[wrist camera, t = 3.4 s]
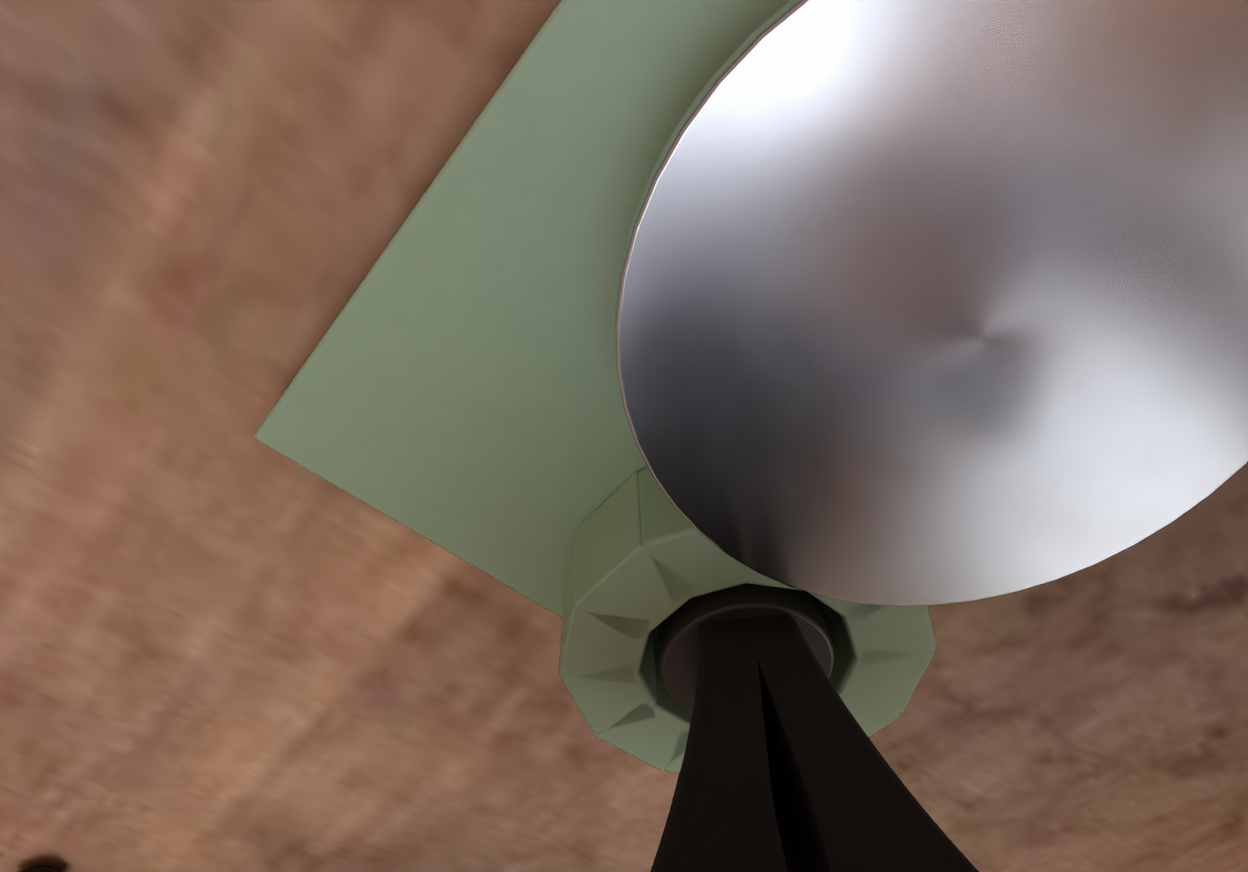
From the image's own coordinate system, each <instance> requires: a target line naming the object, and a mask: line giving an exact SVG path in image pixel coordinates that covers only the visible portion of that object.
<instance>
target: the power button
mask: <svg viewBox="0 0 1248 872" xmlns="http://www.w3.org/2000/svg"><path fill="white" fill-rule="evenodd" d="M787 615H789V616H790V617H791V618H793V619H794V620H795V621H796V622H797V624H798V626H799V628H800V630H801V632H802V634H803V636H804V638H805V640H806V642H807V643H808V645H809V647H810V649H811V650H812V652H813V654H814V656H815V657H816V659H817V661H818V662H819V664H820V666H821V667H822V669H823V671H824V672H825V674H826V675H827V677H828V679H829V678H830V675H831V673H832V670H833V665H834V648H833V644H832V640H831V637H830V634H829V631H828V628H827V624H826V621H825V618H824V615H823V612H822V609H821V605H820V602H819V599H817V598H816V597H815V596H813V595H812V594H810V593H809V592H806V591H803V590H796V589H788V588H781V587H773V586H765V585H757V584H749V583H744V584H740V585H737V586H733V587H729V588H726V589H722V590H718V591H715V592H711V593H707V594H704V595H700V596H696V597H693V598H690V599H689V600H688V601H686V602H685V603H684V604H683V605H682V606H681V607H679V608H678V609H677V610H676V611H675V612H673V613H672V614H671V615H670V616H669V617H667V618H666V619H665V620H664V621H663V622H661V623H660V624H659V625H658V626H657V631H658V646H659V661H660V673H661V679H662V682H663V684H664V687H665V688H666V690H667V692H668V693H669V695H670V696H671V697H672V699H673V700H674V701H675V702H676V703H677V704H678V705H679V706H681V707H682V708H683V709H685V710H686V711H688V712H689V713H691V714H692V712H693V706H694V700H695V692H696V684H697V675H698V662H699V653H698V632H697V627H699V626H700V625H701V624H702V623H703V622H705V621H716V620H730V619H745V618H746V619H747V618H759V617H772V616H787Z"/></svg>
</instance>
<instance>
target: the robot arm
mask: <svg viewBox="0 0 1248 872" xmlns="http://www.w3.org/2000/svg"><path fill="white" fill-rule="evenodd" d="M697 632H698V653H699V662H698V675H697V684H696V692H695V700H694V706H693V712H692V717H691V722H690V728H689V733H688V739H687V744H686V749H685V753H684V758H683V762H682V766H681V769H680V773H679V777H678V781H677V785H676V789H675V793H674V797H673V801H672V804H671V808H670V812H669V815H668V818H667V822H666V825H665V829H664V832H663V835H662V838H661V841H660V845H659V848H658V851H657V854H656V857H655V860H654V863H653V866H652V869H651V872H979V871H978V870H977V869H976V868H975V867H974V866H973V865H972V864H971V863H970V862H969V860H968V859H967V858H966V857H965V856H964V855H963V854H962V853H961V852H960V850H959V849H958V848H957V847H956V846H955V845H954V844H953V843H952V841H951V840H950V839H949V838H948V837H947V836H946V835H945V834H944V832H943V831H942V830H941V829H940V828H939V827H938V825H937V824H936V823H935V822H934V821H933V820H932V818H931V817H930V816H929V815H928V814H927V812H926V811H925V810H924V809H923V808H922V806H921V805H920V804H919V803H918V802H917V800H916V799H915V798H914V797H913V795H912V794H911V793H910V792H909V790H908V789H907V788H906V786H905V785H904V784H903V783H902V781H901V780H900V779H899V778H898V776H897V775H896V774H895V773H894V771H893V770H892V769H891V767H890V766H889V765H888V763H887V762H886V761H885V759H884V758H883V757H882V755H881V754H880V753H879V751H878V750H877V749H876V747H875V746H874V745H873V743H872V742H871V740H870V739H869V738H868V736H867V735H866V733H865V732H864V731H863V729H862V728H861V726H860V725H859V724H858V722H857V721H856V719H855V718H854V716H853V715H852V714H851V712H850V711H849V709H848V708H847V706H846V705H845V703H844V702H843V700H842V699H841V697H840V696H839V694H838V693H837V691H836V690H835V688H834V687H833V685H832V683H831V682H830V680H829V679H828V677H827V675H826V674H825V672H824V671H823V669H822V667H821V666H820V664H819V662H818V661H817V659H816V657H815V656H814V654H813V652H812V650H811V649H810V647H809V645H808V643H807V642H806V640H805V638H804V636H803V634H802V632H801V630H800V628H799V626H798V624H797V622H796V621H795V620H794V619H793V618H791V617H790V616H789V615H787V616H772V617H759V618H747V619H746V618H745V619H730V620H716V621H705V622H703V623H702V624H701V625H700V626H699V627H697Z"/></svg>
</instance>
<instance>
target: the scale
mask: <svg viewBox="0 0 1248 872" xmlns="http://www.w3.org/2000/svg"><path fill="white" fill-rule="evenodd" d="M789 1H791V0H560V1H559V3H558V4H557V6H556V7H555V9H554V10H553V11H552V13H551V14H550V16H549V17H548V18H547V20H546V21H545V23H544V24H543V26H542V27H541V28H540V30H539V31H538V33H537V34H536V35H535V37H534V38H533V40H532V41H531V43H530V44H529V45H528V47H527V48H526V50H525V51H524V52H523V54H522V55H521V57H520V58H519V60H518V61H517V62H516V64H515V65H514V67H513V68H512V69H511V71H510V72H509V74H508V75H507V77H506V78H505V79H504V81H503V82H502V84H501V85H500V86H499V88H498V89H497V91H496V92H495V94H494V95H493V96H492V98H491V99H490V101H489V102H488V103H487V105H486V106H485V108H484V109H483V111H482V112H481V113H480V115H479V116H478V118H477V119H476V120H475V122H474V123H473V125H472V126H471V128H470V129H469V130H468V132H467V133H466V135H465V136H464V137H463V139H462V140H461V142H460V143H459V145H458V146H457V147H456V149H455V150H454V152H453V153H452V154H451V156H450V157H449V159H448V160H447V162H446V163H445V164H444V166H443V167H442V169H441V170H440V171H439V173H438V174H437V176H436V177H435V179H434V180H433V181H432V183H431V184H430V186H429V187H428V189H427V190H426V191H425V193H424V194H423V196H422V197H421V198H420V200H419V201H418V203H417V204H416V206H415V207H414V208H413V210H412V211H411V213H410V214H409V215H408V217H407V218H406V220H405V221H404V223H403V224H402V225H401V227H400V228H399V230H398V231H397V232H396V234H395V235H394V237H393V238H392V240H391V241H390V242H389V244H388V245H387V247H386V248H385V249H384V251H383V252H382V254H381V255H380V257H379V258H378V259H377V261H376V262H375V264H374V265H373V266H372V268H371V269H370V271H369V272H368V274H367V275H366V276H365V278H364V279H363V281H362V282H361V283H360V285H359V286H358V288H357V289H356V291H355V292H354V293H353V295H352V296H351V298H350V299H349V300H348V302H347V303H346V305H345V306H344V308H343V309H342V310H341V312H340V313H339V315H338V316H337V317H336V319H335V320H334V322H333V323H332V325H331V326H330V327H329V329H328V330H327V332H326V333H325V334H324V336H323V337H322V339H321V340H320V342H319V343H318V344H317V346H316V347H315V349H314V350H313V351H312V353H311V354H310V356H309V357H308V359H307V360H306V361H305V363H304V364H303V366H302V367H301V368H300V370H299V371H298V373H297V374H296V376H295V377H294V378H293V380H292V381H291V383H290V384H289V385H288V387H287V388H286V390H285V391H284V393H283V394H282V395H281V397H280V398H279V400H278V401H277V403H276V404H275V405H274V407H273V408H272V410H271V411H270V412H269V414H268V415H267V417H266V418H265V420H264V421H263V422H262V424H261V425H260V427H259V428H258V429H257V431H256V432H255V436H254V437H255V439H256V440H258V441H260V442H262V443H263V444H265V445H267V446H268V447H270V448H272V449H274V450H275V451H277V452H279V453H280V454H282V455H284V456H286V457H287V458H289V459H291V460H292V461H294V462H296V463H298V464H299V465H301V466H303V467H304V468H306V469H308V470H310V471H311V472H313V473H315V474H316V475H318V476H320V477H322V478H323V479H325V480H327V481H328V482H330V483H332V484H334V485H335V486H337V487H339V488H340V489H342V490H344V491H346V492H347V493H349V494H351V495H352V496H354V497H356V498H358V499H359V500H361V501H363V502H364V503H366V504H368V505H370V506H371V507H373V508H375V509H376V510H378V511H380V512H382V513H383V514H385V515H387V516H388V517H390V518H392V519H394V520H395V521H397V522H399V523H400V524H402V525H404V526H406V527H407V528H409V529H411V530H412V531H414V532H416V533H418V534H419V535H421V536H423V537H424V538H426V539H428V540H430V541H431V542H433V543H435V544H436V545H438V546H440V547H442V548H443V549H445V550H447V551H448V552H450V553H452V554H454V555H455V556H457V557H459V558H460V559H462V560H464V561H466V562H467V563H469V564H471V565H472V566H474V567H476V568H478V569H479V570H481V571H483V572H484V573H486V574H488V575H490V576H491V577H493V578H495V579H496V580H498V581H500V582H502V583H503V584H505V585H507V586H509V587H510V588H512V589H514V590H515V591H517V592H519V593H521V594H522V595H524V596H526V597H527V598H529V599H531V600H533V601H534V602H536V603H538V604H539V605H541V606H543V607H545V608H546V609H548V610H550V611H551V612H553V613H555V614H557V615H558V616H560V617H562V632H561V646H560V660H559V674H560V676H561V679H562V681H563V683H564V684H565V686H566V688H567V689H568V691H569V693H570V694H571V696H572V698H573V699H574V701H575V703H576V705H577V706H578V708H579V710H580V711H581V713H582V715H583V716H584V718H585V720H586V722H587V723H588V725H589V727H590V728H591V730H592V732H594V733H595V735H596V736H597V737H598V738H600V739H602V740H604V741H606V742H607V743H609V744H611V745H613V746H615V747H617V748H619V749H621V750H623V751H625V752H626V753H628V754H630V755H632V756H634V757H636V758H638V759H640V760H642V761H644V762H645V763H647V764H649V765H651V766H653V767H655V768H657V769H659V770H663V769H664V770H665V771H668V772H678V773H680V769H681V766H682V762H683V758H684V753H685V749H686V744H687V739H688V733H689V728H690V722H691V717H692V714H691V713H689V712H688V711H686V710H685V709H683V708H682V707H681V706H679V705H678V704H677V703H676V702H675V701H674V700H673V699H672V697H671V696H670V695H669V693H668V692H667V690H666V688H665V687H664V684H663V682H662V679H661V673H660V661H659V646H658V631H657V626H658V625H659V624H660V623H661V622H663V621H664V620H665V619H666V618H667V617H669V616H670V615H671V614H672V613H673V612H675V611H676V610H677V609H678V608H679V607H681V606H682V605H683V604H684V603H685V602H686V601H688V600H689V599H690V598H693V597H696V596H700V595H704V594H707V593H711V592H715V591H718V590H722V589H726V588H729V587H733V586H737V585H740V584H744V583H749V584H757V585H765V586H773V587H781V588H788V589H796V588H793V587H790V586H787V585H785V584H783V583H780V582H778V581H776V580H773V579H771V578H769V577H767V576H764V575H762V574H760V573H757V572H756V571H754V570H752V569H751V568H749V567H747V566H745V565H744V564H742V563H740V562H739V561H737V560H735V559H734V558H732V557H730V556H728V555H727V554H726V553H724V552H723V551H722V550H720V549H719V548H718V547H717V546H715V545H714V544H713V543H712V542H710V541H709V540H708V539H706V538H705V537H704V536H703V535H701V534H700V533H699V532H698V531H697V530H696V529H695V528H694V527H693V526H692V525H691V524H690V523H689V522H688V521H687V520H686V519H685V517H684V516H683V515H682V514H681V513H680V512H679V511H678V510H677V509H676V508H675V507H674V506H673V505H672V503H671V502H670V500H669V499H668V498H667V496H666V495H665V493H664V492H663V491H662V489H661V488H660V486H659V485H658V484H657V482H656V481H655V479H654V478H653V477H652V475H651V473H650V471H649V469H648V467H647V465H646V463H645V461H644V459H643V457H642V455H641V453H640V451H639V449H638V447H637V445H636V443H635V440H634V437H633V434H632V431H631V428H630V425H629V422H628V419H627V416H626V413H625V410H624V407H623V402H622V396H621V390H620V384H619V379H618V373H617V367H616V334H615V307H616V299H617V290H618V281H619V273H620V265H621V261H622V257H623V253H624V249H625V246H626V242H627V238H628V234H629V230H630V226H631V222H632V218H633V216H634V213H635V211H636V208H637V206H638V203H639V201H640V198H641V196H642V193H643V191H644V188H645V186H646V183H647V181H648V178H649V176H650V174H651V171H652V169H653V167H654V165H655V164H656V162H657V160H658V158H659V156H660V155H661V153H662V151H663V149H664V147H665V146H666V144H667V142H668V140H669V139H670V137H671V135H672V133H673V131H674V130H675V128H676V126H677V124H678V122H679V121H680V120H681V118H682V117H683V115H684V114H685V113H686V111H687V110H688V109H689V107H690V106H691V105H692V103H693V102H694V100H695V99H696V98H697V96H698V95H699V94H700V92H701V91H702V89H703V88H704V87H705V85H706V84H707V83H708V81H709V80H710V79H711V77H712V76H713V75H714V73H715V72H716V71H717V70H718V69H719V68H720V67H721V66H722V65H723V64H724V63H725V62H726V61H727V60H728V59H729V57H730V56H731V55H732V54H733V53H734V52H735V51H736V50H737V49H738V48H739V47H740V46H741V45H742V44H743V43H744V42H745V40H746V39H747V38H748V37H749V36H750V35H751V34H752V33H753V32H754V31H755V30H756V29H757V28H758V27H760V26H761V25H762V24H763V23H764V22H766V21H767V20H768V19H769V18H770V17H772V16H773V15H774V14H775V13H776V12H777V11H779V10H780V9H781V8H782V7H783V6H785V5H786V4H787V3H788V2H789ZM796 590H800V589H796ZM809 593H810V592H809ZM810 594H812V595H813V596H815V597H816V598H817V599H819V602H820V605H821V609H822V612H823V615H824V618H825V621H826V624H827V628H828V631H829V634H830V637H831V640H832V644H833V648H834V665H833V670H832V673H831V675H830V678H829V680H830V682H831V683H832V685H833V687H834V688H835V690H836V691H837V693H838V694H839V696H840V697H841V699H842V700H843V702H844V703H845V705H846V706H847V708H848V709H849V711H850V712H851V714H852V715H853V716H854V718H855V719H856V721H857V722H858V724H859V725H860V726H861V728H862V729H863V731H864V732H865V733H866V735H867V736H868V737H870V736H871V735H873V734H874V733H876V732H877V731H879V730H880V729H882V728H883V727H885V726H886V725H888V724H890V723H891V722H893V721H894V720H896V719H897V718H899V717H900V716H901V714H900V712H902V711H903V710H904V708H905V706H906V704H907V703H908V701H909V699H910V697H911V695H912V694H913V692H914V690H915V688H916V686H917V684H918V683H919V681H920V679H921V677H922V675H923V674H924V672H925V670H926V668H927V666H928V665H929V663H930V661H931V659H932V657H933V656H934V650H936V640H935V636H934V631H933V626H932V621H931V617H930V612H929V607H928V606H888V605H875V604H862V603H855V602H850V601H844V600H839V599H833V598H828V597H823V596H820V595H816V594H813V593H810Z"/></svg>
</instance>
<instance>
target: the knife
mask: <svg viewBox="0 0 1248 872" xmlns="http://www.w3.org/2000/svg"><path fill="white" fill-rule="evenodd" d="M20 872H55V871H53V870H52V869H50V868H48V867H36V868H30V869H27V870H23V871H20Z"/></svg>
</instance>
